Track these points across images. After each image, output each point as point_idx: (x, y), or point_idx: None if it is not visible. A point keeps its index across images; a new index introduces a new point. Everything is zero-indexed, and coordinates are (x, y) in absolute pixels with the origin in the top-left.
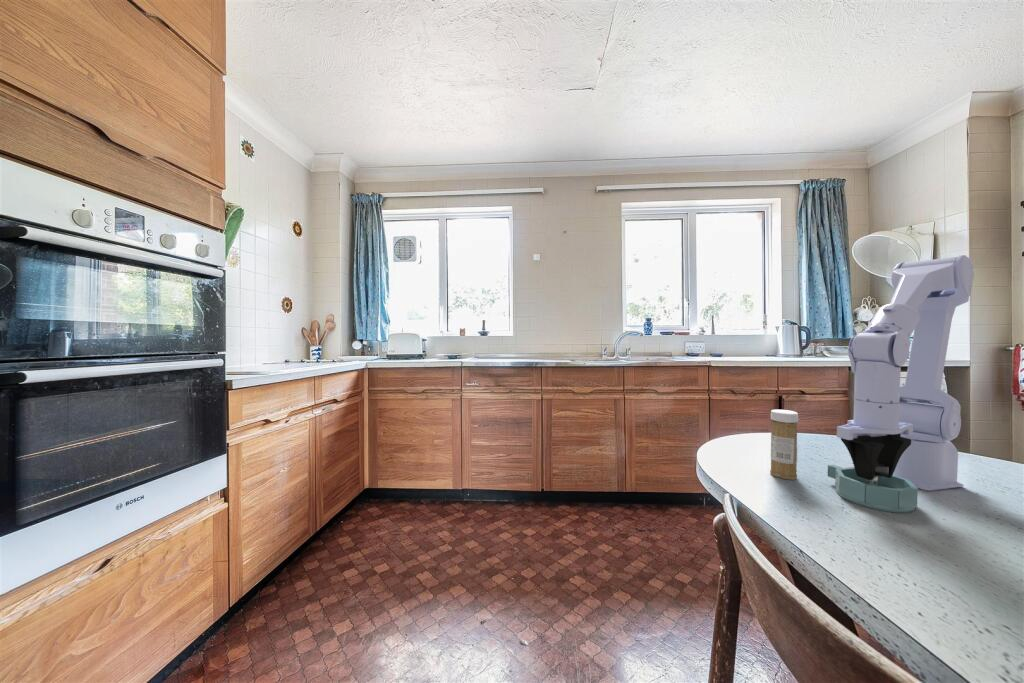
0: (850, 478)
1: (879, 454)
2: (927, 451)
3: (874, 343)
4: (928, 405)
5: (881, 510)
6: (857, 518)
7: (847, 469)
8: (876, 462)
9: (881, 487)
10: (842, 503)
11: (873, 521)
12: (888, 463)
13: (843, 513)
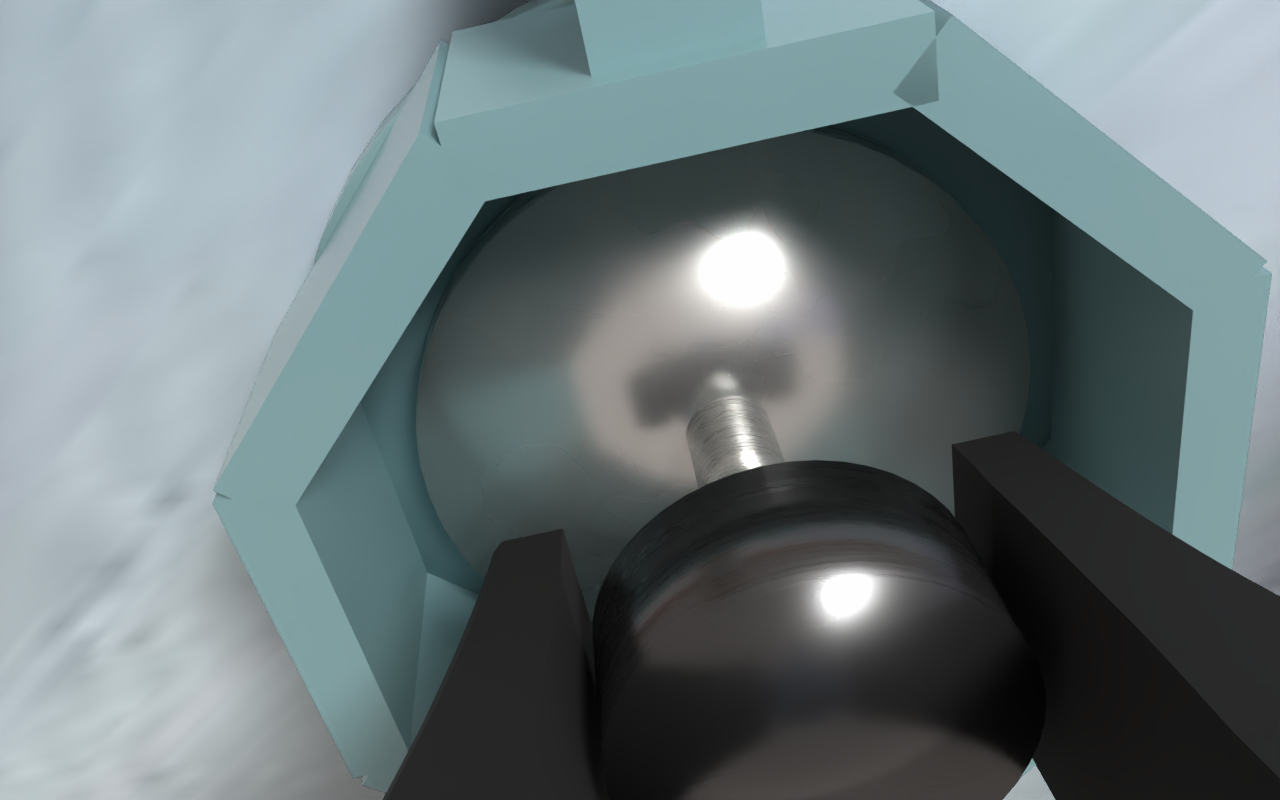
0: (324, 589)
1: (1168, 785)
2: None
3: None
4: None
5: None
6: (107, 756)
7: (684, 153)
8: (967, 682)
9: None
10: (185, 481)
11: (228, 789)
12: (1074, 789)
13: (24, 684)
